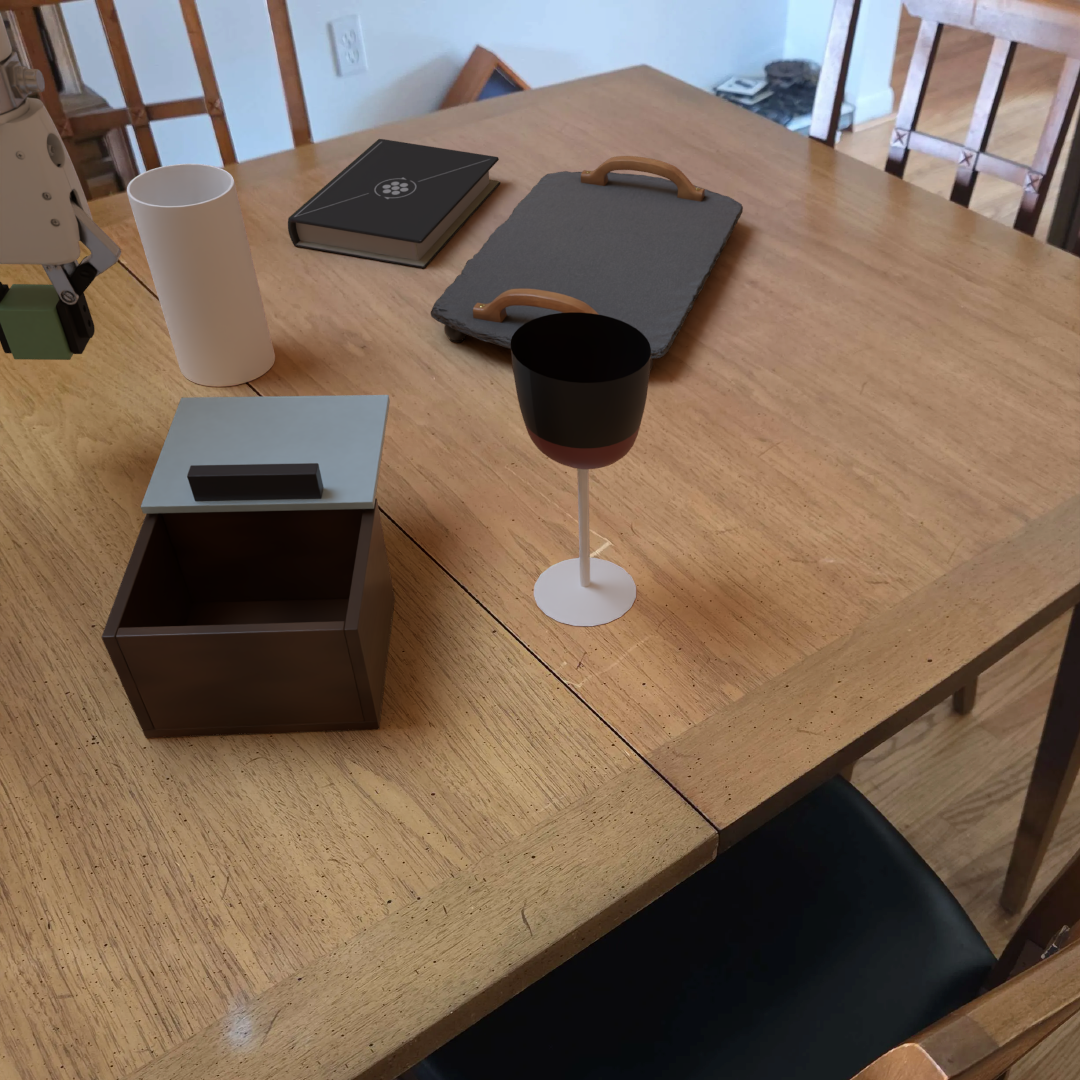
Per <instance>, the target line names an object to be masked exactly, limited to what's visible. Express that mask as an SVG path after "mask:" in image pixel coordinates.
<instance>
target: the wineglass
mask: <svg viewBox="0 0 1080 1080" xmlns="http://www.w3.org/2000/svg"><path fill="white" fill-rule="evenodd" d="M510 344H511V349H510V354H511V355H510V356H511V363H512V364H511V365H512V373H513V378H514V386H515V391H516V395H517V401H518V404H519V410H520V413H521V417H522V419H523V424H524V426H525V428H526V431H527V434H528V436H529V438H530V439H531V442H532V443H533V445H534V446H535V447H536V448H537V449H538V450H539V451H540V453H542V454H543V455H544V456H546V457H548V458H549V459H551V460H552V461H554V462H556V463H558V464H561V465H563V466H566V467H569V468H572V469H576V471H577V472H576V473H577V512H578V513H577V517H578V521H577V522H578V557H573V558H569V559H564V560H561V561H559V562H557V563H554V564H552V565H550V566H549V567H547V568H546V569H545V570H544V571H542V572H541V573H540V575H539V576H538V578H537V579H536V581H535V583H534V587H533V598H534V600H535V603H536V605H537V607H538V608H539V609H540V611H542V612H543V614H544V615H546V616H547V617H549V618H551V619H553V620H555V621H556V622H558V623H562V624H565V625H570V626H573V627H595V626H600V625H604V624H608V623H610V622H613V621H615V620H617V619H620V618H621V617H622V616H624V615H625V614H626V613H627V612H628V611H629V610H631V608H632V606H633V604H634V602H635V600H636V599H637V585H636V583H635V580H634V579H633V577H632V575H631V574H630V573H629V572H628V571H627V570H626V569H625V568H623V567H622V566H620V565H618V564H616V563H614V562H612V561H610V560H606V559H602V558H597V557H591V543H590V542H591V539H590V536H591V535H590V532H591V531H590V470H595V469H596V470H597V469H600V468H605V467H608V466H611V465H613V464H616V463H617V462H619V461H621V459H623V458H625V457H626V455H627V454H628V453H629V452H630V450H631V449H632V448H633V446H634V445H635V442H636V440H637V437H638V435H639V431H640V428H641V423H642V420H643V416H644V412H645V407H646V403H647V398H648V388H649V383H650V372H651V370H650V361H651V347H650V343H649V342H648V340H647V338H646V337H645V336H644V335H643V334H642V333H641V332H640V331H639V330H637V329H636V328H634V327H633V326H631V325H629V324H627V323H625V322H623V321H621V320H618V319H615V318H612V317H608V316H604V315H598V314H592V313H581V312H569V313H557V314H550V315H546V316H542V317H539V318H536V319H533V320H531V321H529V322H527V323H525V324H524V325H522V326H521V327H520V328H518V330H517V331H516V332H515V333H514V335H513V336H512V339H511V343H510Z"/></svg>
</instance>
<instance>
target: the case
mask: <svg viewBox="0 0 1080 1080" xmlns="http://www.w3.org/2000/svg"><path fill="white" fill-rule="evenodd" d="M381 519H382V518H381V514H380V508H379V503H378V499H377V497H376V498H375V505H374V509H338V510H291V511H244V512H196V513H149V514H145V515H144V519H143V521H142V525H141V527H140V529H139V532H138V535H137V538H136V540H135V543H134V546H133V549H132V552H131V555H130V557H129V560H128V562H127V566H126V568H125V571H124V573H123V576H122V579H121V582H120V585H119V588H118V590H117V593H116V596H115V598H114V601H113V603H112V607H111V610H110V613H109V615H108V618H107V620H106V623H105V626H104V627H103V628H104V629H103V631H102V634H101V640H102V642H103V644H104V647H105V649H106V651H107V653H108V656H109V658H110V661H111V662H112V665H113V667H114V669H115V672H116V674H117V676H118V678H119V681H120V683H121V685H122V687H123V689H124V692H125V695H126V697H127V699H128V702H129V704H130V706H131V708H132V710H133V712H134V714H135V717H136V719H137V722H138V723H139V726H140V728H141V730H142V733H143V736H144V738H145V739H156V738H157V739H159V738H160V739H161V738H162V739H163V738H184V737H186V738H187V737H188V738H189V737H210V736H211V737H213V736H240V735H263V734H265V735H266V734H267V735H269V734H290V733H292V734H293V733H316V732H317V733H319V732H343V731H344V732H345V731H346V732H347V731H368V730H369V731H370V730H371V731H372V730H380V727H381V716H382V709H383V700H384V692H385V683H386V677H387V676H386V674H387V667H388V659H389V651H390V641H391V633H392V624H393V616H394V607H395V601H396V600H395V591H394V586H393V581H392V575H391V569H390V564H389V558H388V553H387V547H386V541H385V536H384V531H383V524H382V520H381Z"/></svg>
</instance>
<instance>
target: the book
mask: <svg viewBox="0 0 1080 1080" xmlns="http://www.w3.org/2000/svg"><path fill="white" fill-rule="evenodd" d="M499 160H500V158H499V157H498V156H494V155H488V154H482V153H475V152H468V151H462V150H456V149H450V148H442V147H436V146H429V145H424V144H418V143H417V144H416V143H410V142H403V141H397V140H391V139H384V138H377V140H376V141H374V142H373V143H372V144H371V145H370V146H369V147H368V148H367V149H366V150H364V151H363V152H362V153H361V154H360V155H359V156H357V157H356V158H355V159H353V161H352V162H351V163H349V164H348V165H347V166H346V167H345V168H343V169H342V170H341V171H340V172H338V174H337V175H336V176H334V177H333V178H332V179H331V180H330V181H329V182H328V183H326V184H325V185H324V186H323V187H322V188H321V189H319V191H317V192H316V193H315V194H314V195H313V196H312V197H310V198H309V199H308V200H307V201H306V202H305V203H303V204H302V205H301V206H300V207H299V208H298V209H297V210H295V212H293V213H292V214H291V215H290V216H289V217H288V218H287V231H288V235H289V238H290V241H291V243H292V245H293V246H294V247H299V248H302V249H303V248H304V249H309V250H316V251H320V252H321V251H322V252H327V253H332V254H338V255H345V256H349V257H355V258H362V259H368V260H374V261H378V262H384V263H391V264H396V265H402V266H408V267H414V268H420V269H426V267H427V266H429V264H430V263H431V262H432V261H433V259H435V257H436V256H437V255H438V254H439V253H440V251H442V249H443V248H444V247H445V246H446V245H447V244H448V243H449V241H451V239H453V237H454V236H455V235H456V234H457V233H458V232H459V230H460V229H461V228H463V226H464V225H465V224H466V222H467V221H468V220H469V219H470V218H471V217H472V216H473V215H474V213H476V211H477V210H478V209H479V208H480V207H481V206H482V205H483V203H484V202H486V200H487V199H488V198H489V197H490V196H491V195H492V193H493V192H494V191H495V190H496V189H497V188H498V187H499V186H500V184H501V181H500V180H496V179H490V170H491V169H492V168H494V166H495V165H496V164H497V163H498V161H499Z"/></svg>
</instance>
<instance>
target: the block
mask: <svg viewBox="0 0 1080 1080" xmlns="http://www.w3.org/2000/svg"><path fill="white" fill-rule="evenodd" d="M9 288H10V289H9V291H8V292H7V294H6V295H5V297H4V298H3V300H2V301H1V303H0V323H1V326H2V328H3V331H4V334H5V336H6V339H7V342H8V344H9V347H10V350H11V352H12V353H11V355H12V357H13V359H14V360H25V361H26V360H27V361H28V360H30V361H31V360H33V361H37V360H42V361H69V360H71V359H72V357H73V355H74V354H73V352H71V351H70V348H69V345H68V342H67V339H66V337H65V334H64V331H63V328H62V325H61V322H60V319H59V316H58V313H57V310H56V304H57V303H58V301H59V297H58V294H57V292H56V290H55V288H54V286H53V285H52V284H42V283H41V284H38V283H37V284H36V283H32V284H31V283H30V284H29V283H13V284H11V285H10V287H9Z"/></svg>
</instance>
